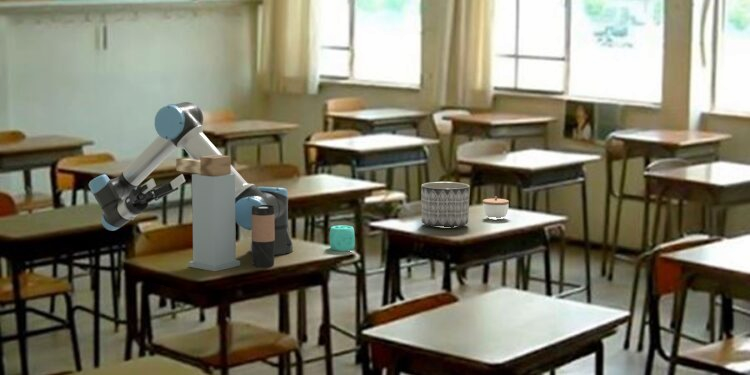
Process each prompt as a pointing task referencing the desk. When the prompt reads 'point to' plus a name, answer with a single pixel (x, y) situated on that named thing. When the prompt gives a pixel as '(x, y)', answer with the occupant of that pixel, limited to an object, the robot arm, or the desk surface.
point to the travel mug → (263, 236)
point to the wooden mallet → (206, 165)
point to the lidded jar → (495, 207)
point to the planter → (445, 203)
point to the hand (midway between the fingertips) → (168, 179)
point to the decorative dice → (342, 238)
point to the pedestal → (213, 222)
